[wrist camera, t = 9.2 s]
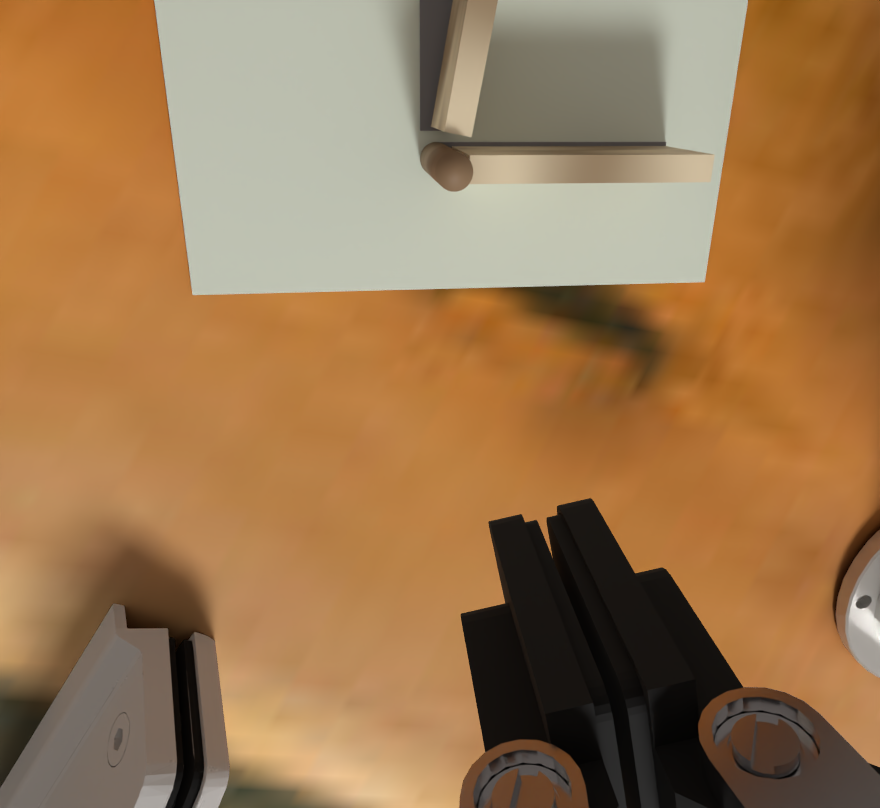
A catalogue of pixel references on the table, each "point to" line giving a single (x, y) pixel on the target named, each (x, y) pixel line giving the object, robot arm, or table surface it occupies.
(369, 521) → the table surface
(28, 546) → the table surface
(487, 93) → the card
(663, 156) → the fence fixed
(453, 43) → the panel
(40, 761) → the grey piece
